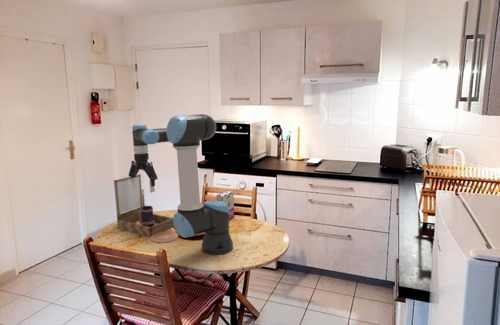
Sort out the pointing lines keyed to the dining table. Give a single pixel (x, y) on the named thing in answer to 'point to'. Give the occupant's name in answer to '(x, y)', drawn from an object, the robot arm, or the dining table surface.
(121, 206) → the lid
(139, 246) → the dining table surface
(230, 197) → the candy bar box
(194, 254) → the dining table surface
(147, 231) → the cold frame
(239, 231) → the dining table surface
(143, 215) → the mug
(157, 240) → the saucer
